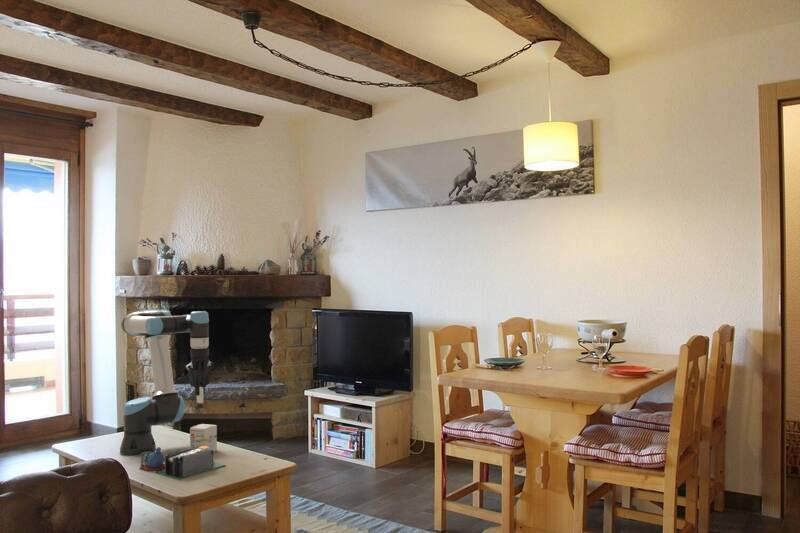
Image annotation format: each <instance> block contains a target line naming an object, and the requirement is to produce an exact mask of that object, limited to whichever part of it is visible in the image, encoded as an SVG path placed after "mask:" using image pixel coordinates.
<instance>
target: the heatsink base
mask: <svg viewBox="0 0 800 533" xmlns="http://www.w3.org/2000/svg"><path fill="white" fill-rule="evenodd" d="M197 448H198V447H191V448H190V447H188V448H184V449H180V450H176V451H171V452H168V453H166V455H164V464H165V469H163V470H159V471H155V474H157V475H158V474H159V475H160V476H165V477H167V478H173V479H175V480H181V479H186V478H190V477H192V476H195V475H199V474H200V475H201V474H203V473H207V472H210V471H214V470H217V469H220V468H224V467H226V466H227V465H226V464H224V463H220V462H217V461H214V452H213V450H204V451H200V452H196V453H192V454H188V455H184V456H180V460H179V457H175V458H173V462H169V461H167V459H168V458H171V457H174V456H177V455H180V454H182V453H185V452H188V451H191V450H194V449H197Z"/></svg>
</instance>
